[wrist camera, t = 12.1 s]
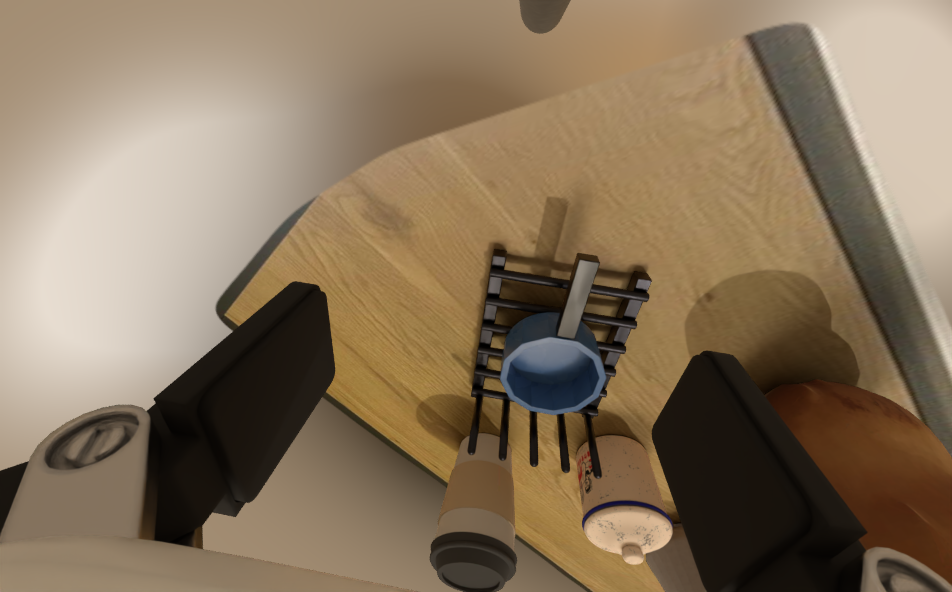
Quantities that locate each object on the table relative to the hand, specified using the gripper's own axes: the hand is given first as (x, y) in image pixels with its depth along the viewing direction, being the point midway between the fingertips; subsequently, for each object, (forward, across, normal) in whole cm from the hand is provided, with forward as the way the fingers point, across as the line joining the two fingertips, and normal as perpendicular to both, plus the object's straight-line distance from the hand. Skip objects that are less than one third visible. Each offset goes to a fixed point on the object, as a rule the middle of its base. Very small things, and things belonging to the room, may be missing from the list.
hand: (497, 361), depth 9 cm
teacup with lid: (+24, -18, +34) cm, 45 cm away
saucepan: (+21, -6, +12) cm, 25 cm away
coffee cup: (+24, -2, +36) cm, 43 cm away
